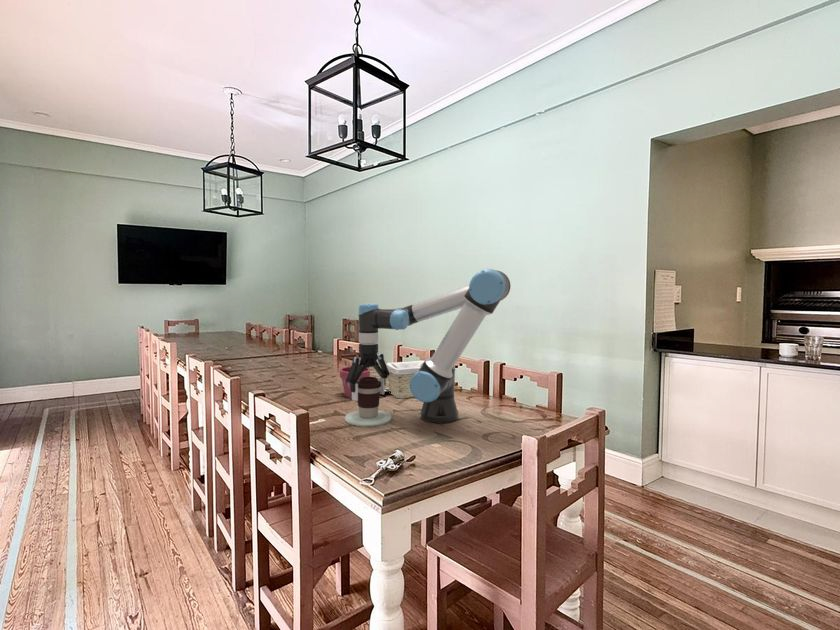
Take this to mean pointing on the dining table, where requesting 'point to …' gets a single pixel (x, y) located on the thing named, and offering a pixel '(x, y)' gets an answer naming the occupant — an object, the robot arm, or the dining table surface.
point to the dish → (368, 419)
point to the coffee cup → (368, 396)
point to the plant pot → (346, 385)
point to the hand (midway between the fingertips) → (368, 397)
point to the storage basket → (402, 377)
